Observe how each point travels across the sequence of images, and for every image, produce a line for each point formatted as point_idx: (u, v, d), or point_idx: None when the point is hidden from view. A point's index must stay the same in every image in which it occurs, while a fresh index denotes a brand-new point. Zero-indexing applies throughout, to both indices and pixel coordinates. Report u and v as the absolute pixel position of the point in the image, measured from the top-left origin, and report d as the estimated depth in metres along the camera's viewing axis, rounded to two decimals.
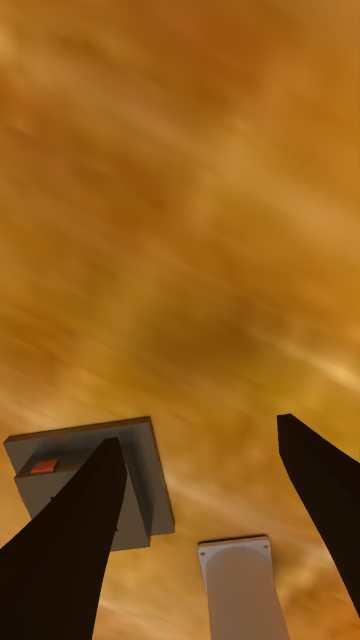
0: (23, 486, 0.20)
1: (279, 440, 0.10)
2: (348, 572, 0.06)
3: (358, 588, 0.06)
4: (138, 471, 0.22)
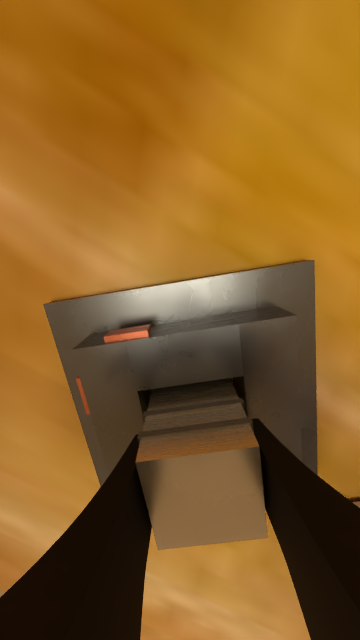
0: (88, 367, 0.10)
1: None
2: (296, 577, 0.06)
3: (303, 594, 0.06)
4: None
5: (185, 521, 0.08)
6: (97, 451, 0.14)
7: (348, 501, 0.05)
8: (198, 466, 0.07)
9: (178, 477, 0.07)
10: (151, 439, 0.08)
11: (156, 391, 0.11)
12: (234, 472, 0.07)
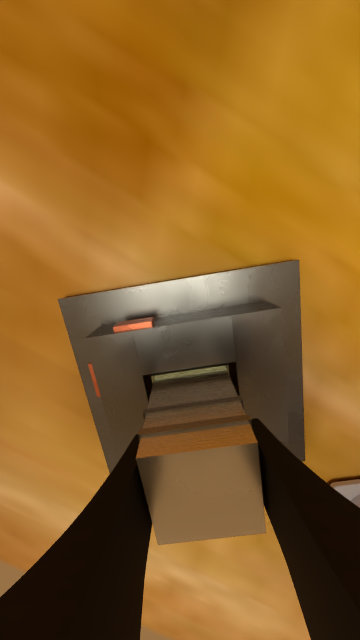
0: (99, 354, 0.12)
1: None
2: (296, 577, 0.06)
3: (303, 593, 0.06)
4: None
5: (185, 516, 0.08)
6: (104, 433, 0.16)
7: (348, 501, 0.05)
8: (198, 462, 0.07)
9: (178, 473, 0.08)
10: (151, 436, 0.08)
11: (156, 389, 0.11)
12: (233, 468, 0.07)
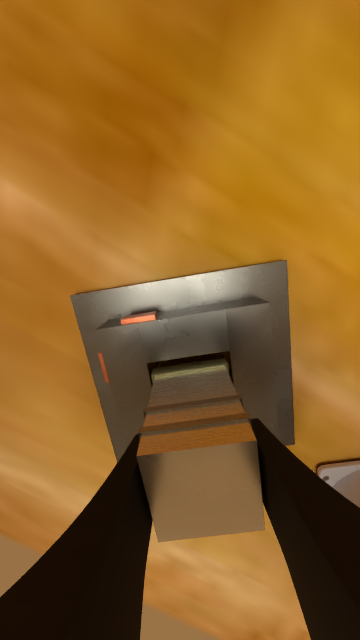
0: (108, 344, 0.13)
1: None
2: (296, 577, 0.06)
3: (303, 593, 0.06)
4: None
5: (185, 514, 0.08)
6: (111, 419, 0.17)
7: (348, 501, 0.05)
8: (197, 460, 0.08)
9: (178, 470, 0.08)
10: (151, 434, 0.08)
11: (156, 388, 0.11)
12: (232, 465, 0.08)
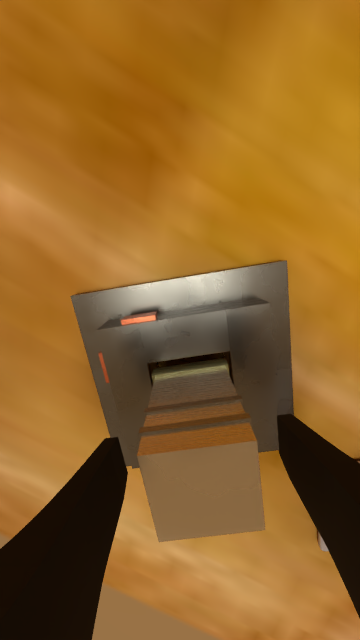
0: (109, 344, 0.13)
1: (279, 440, 0.10)
2: (348, 572, 0.06)
3: (358, 588, 0.06)
4: None
5: (185, 514, 0.08)
6: (111, 419, 0.17)
7: None
8: (198, 460, 0.08)
9: (178, 470, 0.08)
10: (152, 434, 0.08)
11: (157, 388, 0.11)
12: (232, 465, 0.08)
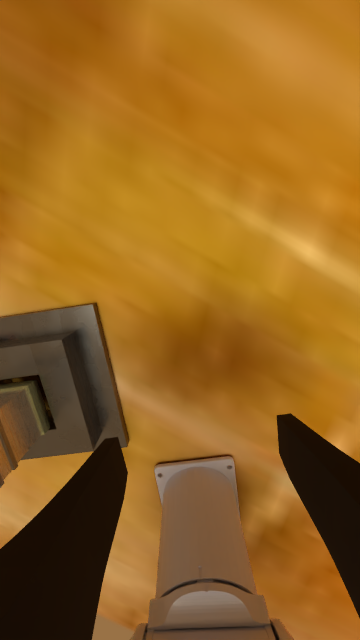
0: None
1: (279, 440, 0.10)
2: (348, 572, 0.06)
3: (358, 588, 0.06)
4: (83, 366, 0.19)
5: None
6: None
7: None
8: None
9: None
10: None
11: None
12: None
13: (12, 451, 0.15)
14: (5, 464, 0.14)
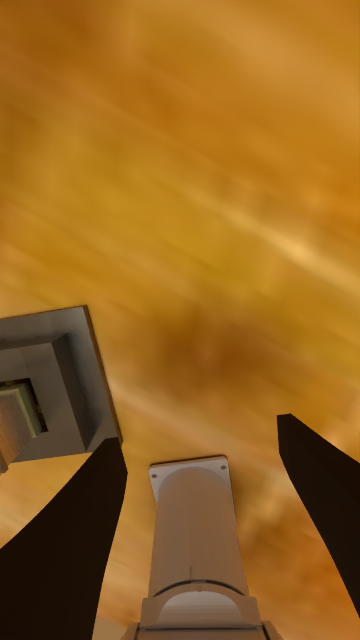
0: None
1: (279, 440, 0.10)
2: (348, 572, 0.06)
3: (358, 588, 0.06)
4: (74, 368, 0.20)
5: None
6: None
7: None
8: None
9: None
10: None
11: None
12: None
13: (2, 454, 0.15)
14: None
